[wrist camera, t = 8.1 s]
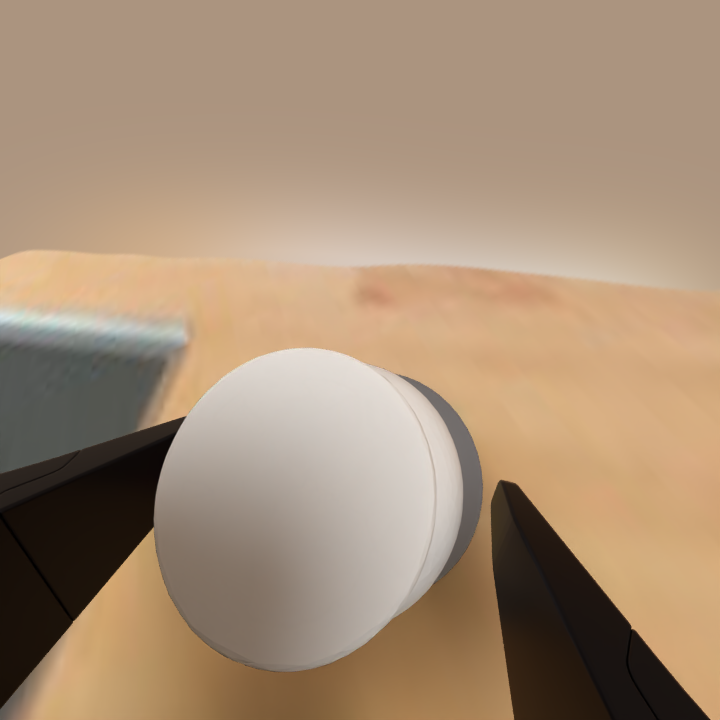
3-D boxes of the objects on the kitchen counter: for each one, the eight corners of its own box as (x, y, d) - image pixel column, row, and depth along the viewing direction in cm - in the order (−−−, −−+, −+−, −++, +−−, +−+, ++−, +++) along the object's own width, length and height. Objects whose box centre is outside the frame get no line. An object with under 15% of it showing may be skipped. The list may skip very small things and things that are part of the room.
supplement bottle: (293, 483, 17) (25, 508, 5) (362, 393, 18) (279, 247, 6) (385, 572, 15) (291, 999, 3) (457, 463, 16) (600, 438, 4)
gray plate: (356, 650, 15) (352, 663, 14) (246, 454, 19) (237, 453, 18) (526, 491, 16) (534, 492, 15) (386, 343, 20) (385, 336, 19)
